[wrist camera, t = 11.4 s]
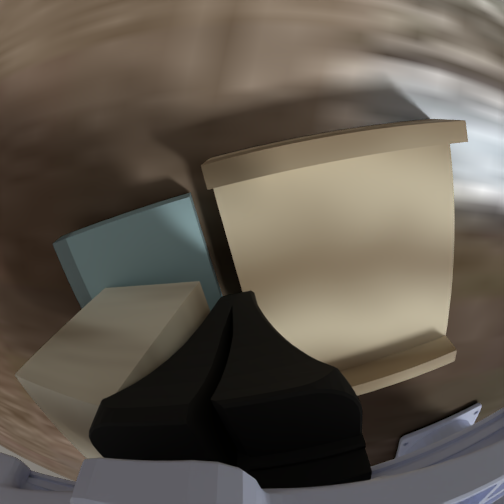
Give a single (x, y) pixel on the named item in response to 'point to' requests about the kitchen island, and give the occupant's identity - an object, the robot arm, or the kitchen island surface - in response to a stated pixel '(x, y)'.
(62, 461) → the kitchen island surface
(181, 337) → the beige rectangular block
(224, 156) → the bed
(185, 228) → the panel
